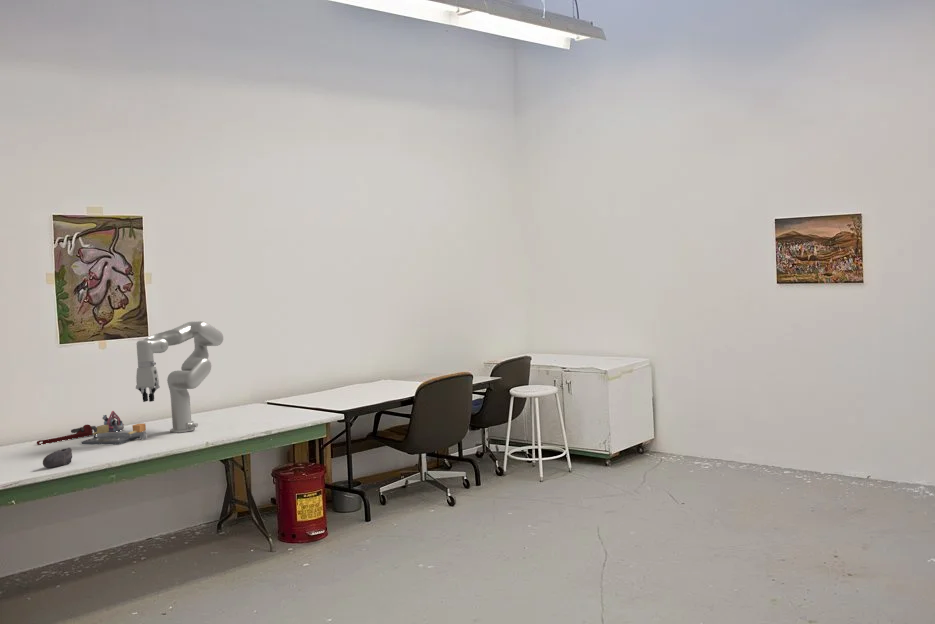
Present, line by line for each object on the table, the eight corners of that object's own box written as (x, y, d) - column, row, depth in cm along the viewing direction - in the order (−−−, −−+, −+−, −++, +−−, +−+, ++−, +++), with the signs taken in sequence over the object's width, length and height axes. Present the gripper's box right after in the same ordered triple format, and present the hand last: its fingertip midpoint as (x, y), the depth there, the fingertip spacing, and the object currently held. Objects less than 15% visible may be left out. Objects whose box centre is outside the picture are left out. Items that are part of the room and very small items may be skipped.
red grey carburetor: (118, 428, 456) (105, 410, 457) (104, 441, 458) (91, 423, 459) (131, 424, 467) (118, 407, 468) (118, 437, 469) (105, 419, 470)
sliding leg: (146, 433, 437) (145, 423, 437) (132, 437, 426) (132, 427, 426) (139, 433, 438) (138, 423, 438) (125, 437, 427) (124, 427, 427)
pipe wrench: (36, 446, 434) (96, 435, 455) (38, 446, 433) (98, 435, 453) (35, 433, 434) (95, 422, 455) (36, 433, 432) (97, 423, 453)
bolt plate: (148, 437, 437) (147, 424, 437) (129, 444, 422) (128, 430, 422) (102, 438, 444) (101, 424, 443) (81, 444, 428) (80, 430, 428)
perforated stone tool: (47, 470, 371) (45, 454, 371) (39, 469, 374) (37, 453, 373) (77, 462, 385) (76, 447, 384) (69, 462, 387) (68, 446, 387)
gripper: (164, 363, 434) (167, 399, 434) (136, 364, 437) (138, 400, 438) (156, 365, 426) (158, 402, 427) (127, 366, 430) (129, 402, 431)
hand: (148, 401), depth 433 cm, fingers open, 2 cm apart
